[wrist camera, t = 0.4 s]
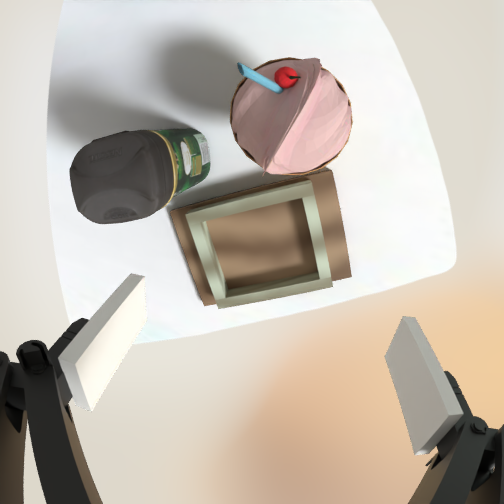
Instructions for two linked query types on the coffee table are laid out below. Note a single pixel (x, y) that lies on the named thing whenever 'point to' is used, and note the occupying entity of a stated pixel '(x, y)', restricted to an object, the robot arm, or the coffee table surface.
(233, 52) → the coffee table surface
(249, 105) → the ice cream cone
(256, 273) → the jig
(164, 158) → the coffee jar
